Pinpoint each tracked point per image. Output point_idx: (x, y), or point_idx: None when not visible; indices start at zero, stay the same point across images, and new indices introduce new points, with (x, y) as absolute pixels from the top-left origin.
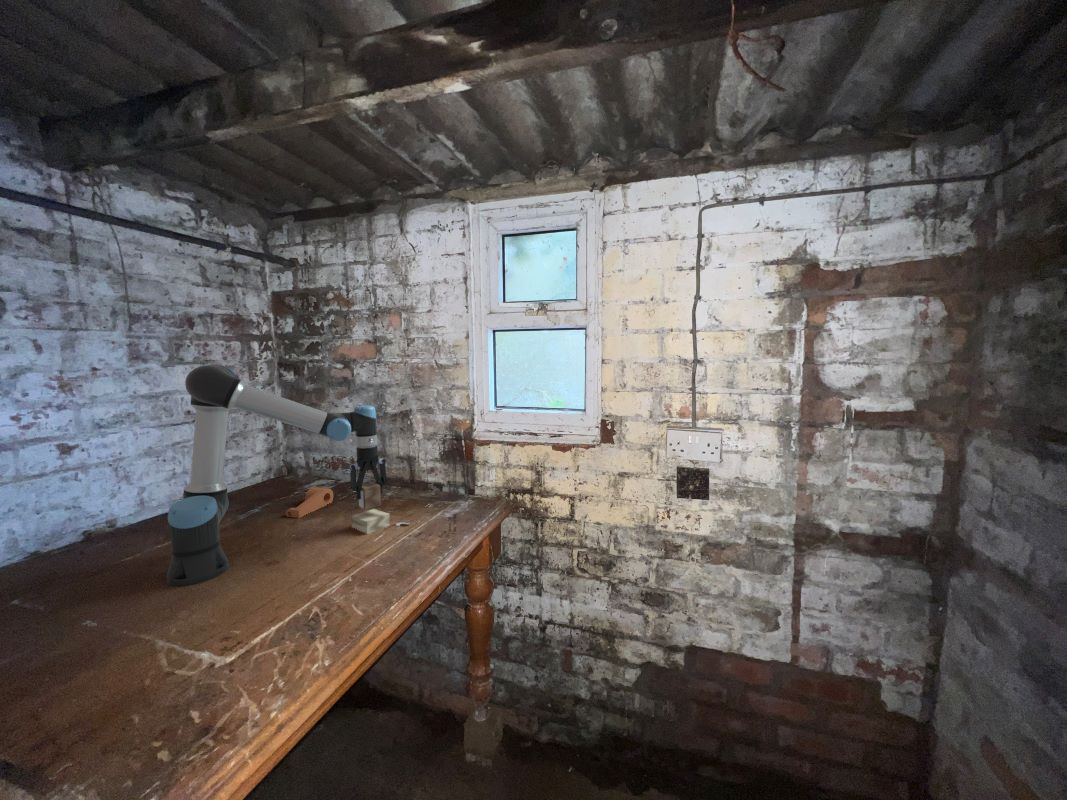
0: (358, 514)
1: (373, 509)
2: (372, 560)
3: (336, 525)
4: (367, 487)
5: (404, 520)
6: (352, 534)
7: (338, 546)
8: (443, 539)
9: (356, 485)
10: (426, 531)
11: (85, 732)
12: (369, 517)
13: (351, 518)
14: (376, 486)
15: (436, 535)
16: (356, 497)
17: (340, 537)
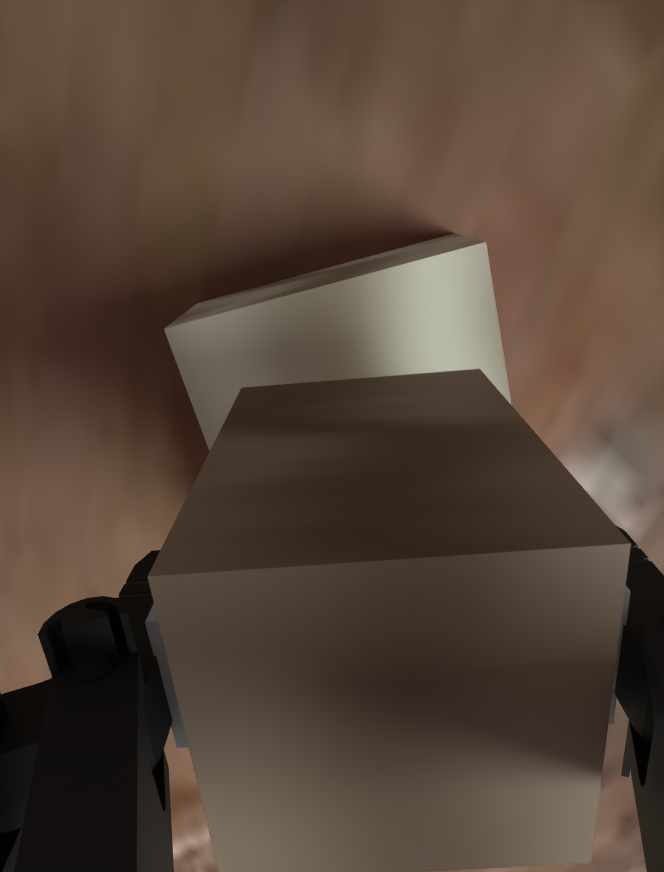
0: (252, 323)
1: (465, 271)
2: (184, 848)
3: (68, 105)
4: (301, 842)
5: (650, 449)
6: (167, 454)
7: (35, 594)
8: (612, 858)
9: (45, 768)
10: (621, 727)
11: None
12: None
13: (171, 323)
14: (497, 859)
15: (622, 803)
16: (135, 577)
17: (67, 450)
